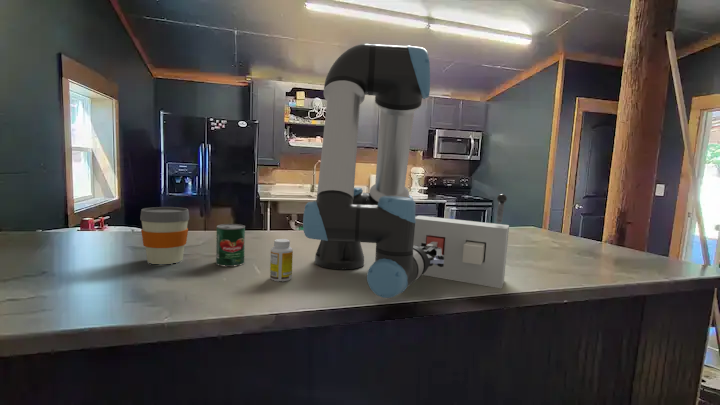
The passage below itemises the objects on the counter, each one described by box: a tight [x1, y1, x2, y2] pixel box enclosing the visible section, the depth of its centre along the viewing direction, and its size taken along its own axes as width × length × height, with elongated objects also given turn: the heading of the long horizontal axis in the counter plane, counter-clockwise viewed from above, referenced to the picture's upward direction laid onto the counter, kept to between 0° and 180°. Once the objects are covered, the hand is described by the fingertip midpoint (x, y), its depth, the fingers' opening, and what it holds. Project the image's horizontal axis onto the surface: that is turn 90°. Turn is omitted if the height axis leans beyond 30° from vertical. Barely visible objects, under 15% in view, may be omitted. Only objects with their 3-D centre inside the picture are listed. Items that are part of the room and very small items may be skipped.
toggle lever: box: [495, 193, 508, 224], centre depth 107 cm, size 3×3×9 cm
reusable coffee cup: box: [139, 206, 190, 265], centre depth 111 cm, size 13×13×15 cm
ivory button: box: [462, 241, 485, 265], centre depth 103 cm, size 5×6×5 cm
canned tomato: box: [215, 223, 246, 267], centre depth 112 cm, size 8×8×11 cm
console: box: [413, 215, 510, 289], centre depth 110 cm, size 26×8×16 cm, turn 65°
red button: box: [426, 235, 445, 255], centre depth 111 cm, size 5×6×5 cm
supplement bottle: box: [269, 238, 294, 282], centre depth 100 cm, size 6×6×10 cm
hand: (434, 246), depth 108 cm, fingers closed
